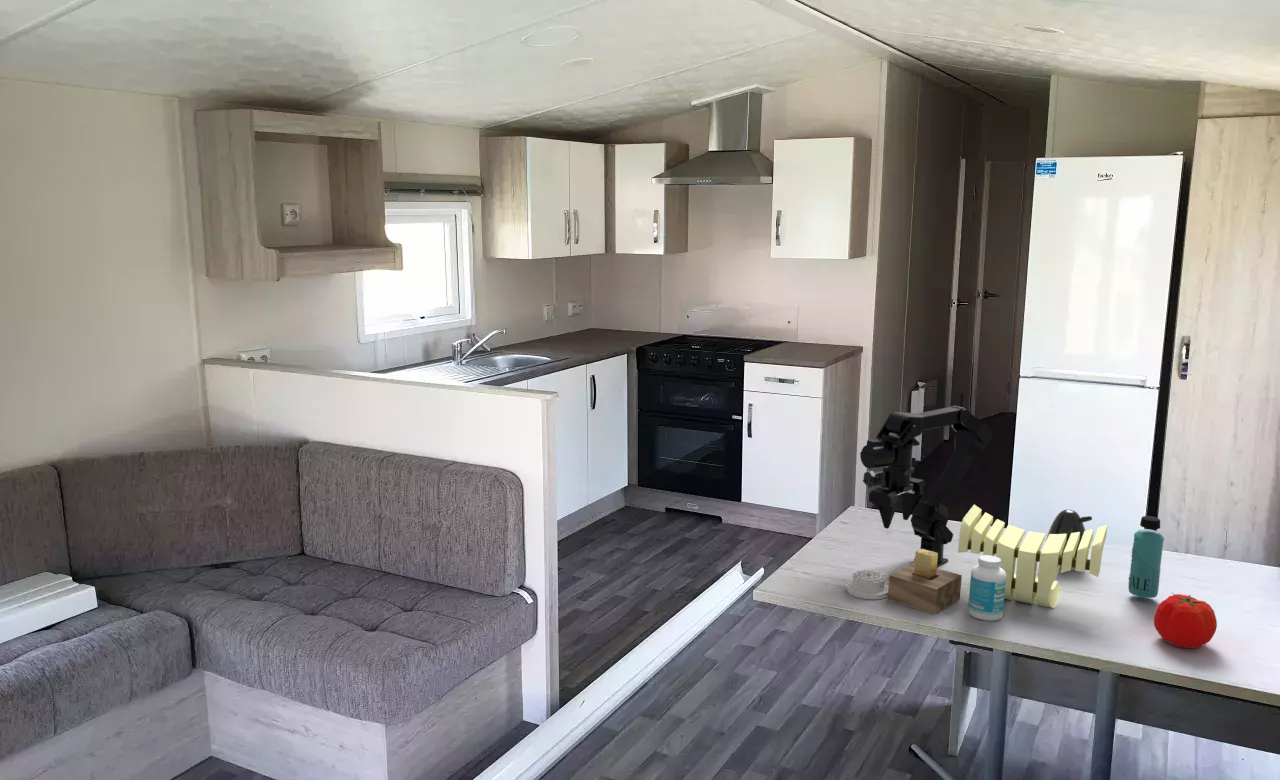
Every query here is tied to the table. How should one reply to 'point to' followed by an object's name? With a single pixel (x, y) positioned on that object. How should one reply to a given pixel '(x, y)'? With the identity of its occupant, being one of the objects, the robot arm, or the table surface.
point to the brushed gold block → (925, 564)
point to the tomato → (1185, 621)
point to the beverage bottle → (1146, 559)
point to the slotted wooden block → (924, 589)
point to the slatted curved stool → (1031, 555)
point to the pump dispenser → (1068, 526)
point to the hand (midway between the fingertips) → (895, 523)
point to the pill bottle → (987, 589)
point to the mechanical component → (868, 585)
